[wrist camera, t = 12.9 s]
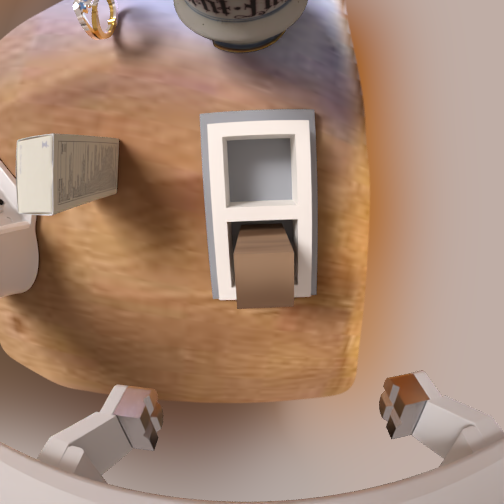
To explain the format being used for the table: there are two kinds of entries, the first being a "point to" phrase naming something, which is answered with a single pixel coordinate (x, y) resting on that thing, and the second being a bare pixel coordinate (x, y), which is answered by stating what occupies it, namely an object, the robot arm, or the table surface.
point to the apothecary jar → (240, 21)
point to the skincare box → (64, 171)
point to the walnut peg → (264, 267)
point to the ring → (96, 18)
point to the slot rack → (260, 187)
